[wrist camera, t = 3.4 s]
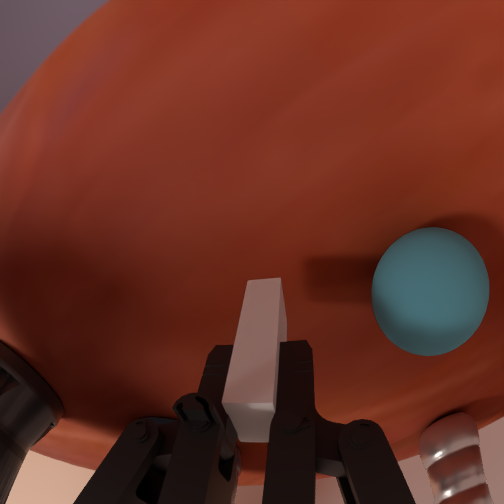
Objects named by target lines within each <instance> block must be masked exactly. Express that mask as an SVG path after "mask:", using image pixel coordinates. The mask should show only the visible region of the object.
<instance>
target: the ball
mask: <svg viewBox="0 0 504 504" xmlns="http://www.w3.org/2000/svg"><path fill="white" fill-rule="evenodd" d="M371 298H372V307H373V311H374V315H375V318H376V320H377V322H378V325H379V326H380V328H381V330H382V331H383V333H384V334H385V335H386V337H387V338H388V339H389V340H390V341H391V342H392V343H394V344H395V345H396V346H398V347H399V348H401V349H403V350H404V351H407V352H409V353H412V354H416V355H422V356H434V355H440V354H444V353H447V352H450V351H452V350H454V349H456V348H457V347H459V346H460V345H462V344H463V343H464V342H466V341H467V340H468V339H469V338H470V337H471V336H472V335H473V334H474V332H475V331H476V330H477V328H478V327H479V325H480V323H481V321H482V319H483V317H484V315H485V313H486V309H487V305H488V301H489V278H488V272H487V269H486V266H485V264H484V261H483V259H482V257H481V256H480V254H479V252H478V251H477V249H476V248H475V247H474V246H473V245H472V244H471V243H470V242H469V241H468V240H467V239H465V238H464V237H463V236H462V235H460V234H458V233H456V232H454V231H451V230H448V229H444V228H438V227H427V228H421V229H417V230H414V231H411V232H409V233H407V234H405V235H404V236H402V237H400V238H399V239H398V240H396V241H395V242H394V243H393V244H392V245H391V246H390V247H389V248H388V249H387V250H386V252H385V253H384V254H383V256H382V257H381V259H380V261H379V263H378V265H377V268H376V270H375V273H374V277H373V281H372V289H371Z"/></svg>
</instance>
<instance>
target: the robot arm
mask: <svg viewBox="0 0 504 504" xmlns="http://www.w3.org/2000/svg"><path fill="white" fill-rule="evenodd" d="M172 408H173V410H174V411H175V413H176V414H177V416H178V417H179V419H180V420H179V421H175V422H171V423H165V424H160V425H156V423H154V422H153V421H152V420H150V419H145V418H142V419H137V420H135V421H133V422H131V423H130V424H129V425H128V426H127V427H126V428H125V430H124V431H123V433H122V434H121V435H120V437H119V438H118V440H117V441H116V443H115V444H114V446H113V447H112V448H111V450H110V451H109V453H108V454H107V456H106V457H105V458H104V460H103V461H102V463H101V464H100V466H99V467H98V468H97V470H96V471H95V473H94V475H93V476H92V477H91V479H90V480H89V481H88V483H87V484H86V486H85V487H84V489H83V490H82V492H81V493H80V494H79V496H78V497H77V499H76V500H75V502H74V503H73V504H231V499H232V492H233V486H234V480H235V474H236V467H237V461H238V450H237V448H236V443H237V436H238V438H239V440H240V442H268V452H267V462H266V472H265V481H264V490H263V499H262V504H315V483H316V482H315V481H316V473H320V474H325V475H330V476H334V477H336V479H337V482H338V485H339V488H340V491H341V494H342V497H343V500H344V503H345V504H416V503H415V501H414V498H413V496H412V494H411V492H410V489H409V487H408V485H407V482H406V480H405V478H404V476H403V473H402V471H401V469H400V467H399V465H398V462H397V460H396V458H395V456H394V454H393V451H392V449H391V447H390V445H389V443H388V441H387V439H386V436H385V434H384V432H383V430H382V429H381V428H380V426H379V425H378V424H377V423H375V422H373V421H371V420H365V419H360V420H354V421H352V422H350V423H348V424H347V425H345V424H339V423H334V422H331V421H327V420H326V419H324V418H322V417H321V416H320V415H319V414H318V412H317V410H316V409H315V396H314V371H313V354H312V348H311V347H310V345H309V344H308V342H307V340H299V341H287V318H286V311H285V304H284V297H283V290H282V283H281V278H270V279H259V280H248V282H247V286H246V291H245V296H244V300H243V305H242V310H241V314H240V319H239V324H238V329H237V333H236V338H235V343H234V345H216V346H215V347H214V349H213V350H212V351H211V352H210V353H209V355H208V358H207V361H206V365H205V368H204V372H203V376H202V379H201V382H200V386H199V389H198V392H197V393H189V394H187V395H184V396H182V397H181V398H179V399H178V400H177V401H176V402H175V404H174V405H173V407H172ZM63 413H64V409H63V406H62V404H61V402H60V400H59V399H58V397H57V396H56V394H55V393H54V392H53V390H52V389H51V388H50V387H49V386H48V385H47V383H46V382H45V381H44V380H43V379H42V378H41V377H40V376H39V375H38V374H37V373H36V372H35V371H34V370H33V369H32V368H31V367H30V366H29V365H28V364H27V363H26V362H24V361H23V360H22V359H21V358H20V357H19V356H18V355H16V354H15V353H14V352H13V351H12V350H10V349H9V348H8V347H6V346H5V345H4V344H2V343H1V342H0V504H5V503H6V501H7V498H8V496H9V493H10V491H11V488H12V486H13V483H14V481H15V479H16V476H17V474H18V472H19V470H20V467H21V465H22V463H23V461H24V459H25V456H26V454H27V453H28V451H29V449H30V448H31V447H32V446H34V445H35V444H36V443H37V442H38V441H39V440H40V439H42V438H43V437H44V436H45V435H46V434H47V433H48V432H49V431H50V430H51V429H53V428H54V427H55V426H56V425H57V424H58V422H59V420H60V419H61V417H62V415H63Z"/></svg>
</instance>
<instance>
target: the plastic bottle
mask: <svg viewBox="0 0 504 504" xmlns="http://www.w3.org/2000/svg"><path fill="white" fill-rule="evenodd" d="M419 455H420V458H421V460H422V463H423V465H424V467H425V469H426V470H427V474H428V478H429V481H430V485H431V488H432V492H433V496H434V504H494V503H493V500H492V498H491V495H490V492H489V488H488V484H486V478H485V475H484V470H483V464H482V458H481V452H480V447H479V434H478V428H477V425H476V423H475V422H474V420H473V418H472V417H471V416H470V415H468V414H466V413H463V412H460V413H455V414H452V415H449V416H446V417H444V418H442V419H440V420H438V421H436V422H435V423H433V424H432V425H430V426H429V427H428V428H426V429H425V430H424V432H423V433H422V435H421V438H420V440H419Z"/></svg>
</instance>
